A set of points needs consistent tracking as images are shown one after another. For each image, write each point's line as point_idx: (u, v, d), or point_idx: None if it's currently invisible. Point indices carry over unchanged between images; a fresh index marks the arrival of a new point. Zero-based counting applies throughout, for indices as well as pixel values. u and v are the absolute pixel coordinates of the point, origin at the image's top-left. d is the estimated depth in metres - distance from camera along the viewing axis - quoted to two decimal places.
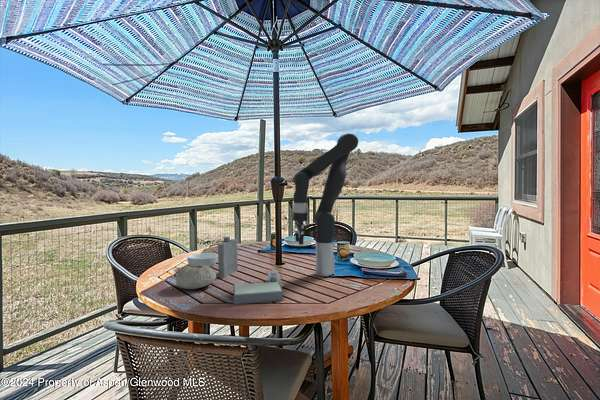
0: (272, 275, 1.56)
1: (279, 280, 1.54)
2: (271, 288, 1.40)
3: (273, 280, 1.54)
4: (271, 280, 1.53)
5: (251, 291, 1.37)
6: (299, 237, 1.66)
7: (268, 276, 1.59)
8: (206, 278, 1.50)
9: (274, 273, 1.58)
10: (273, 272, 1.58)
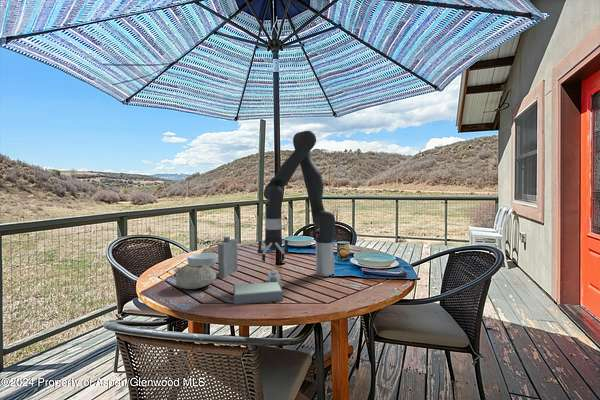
0: (272, 275, 1.56)
1: (279, 280, 1.54)
2: (271, 288, 1.40)
3: (273, 280, 1.54)
4: (271, 280, 1.53)
5: (251, 291, 1.37)
6: (283, 254, 1.58)
7: (268, 276, 1.59)
8: (206, 278, 1.50)
9: (274, 273, 1.58)
10: (273, 272, 1.58)
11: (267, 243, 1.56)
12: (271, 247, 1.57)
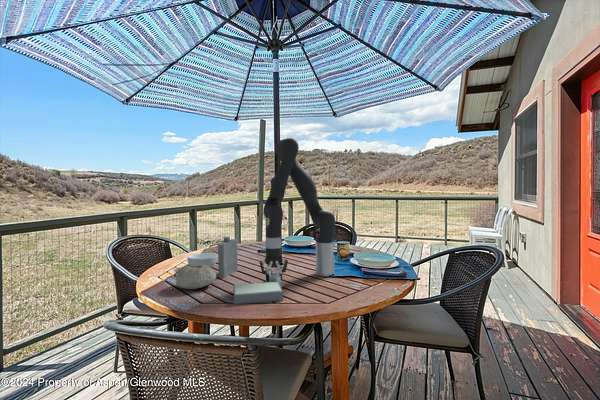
0: (272, 275, 1.56)
1: (279, 280, 1.54)
2: (271, 288, 1.40)
3: (273, 280, 1.54)
4: (271, 280, 1.53)
5: (251, 291, 1.37)
6: (280, 274, 1.59)
7: None
8: (206, 278, 1.50)
9: (274, 273, 1.58)
10: (273, 272, 1.58)
11: (268, 263, 1.57)
12: (273, 265, 1.58)
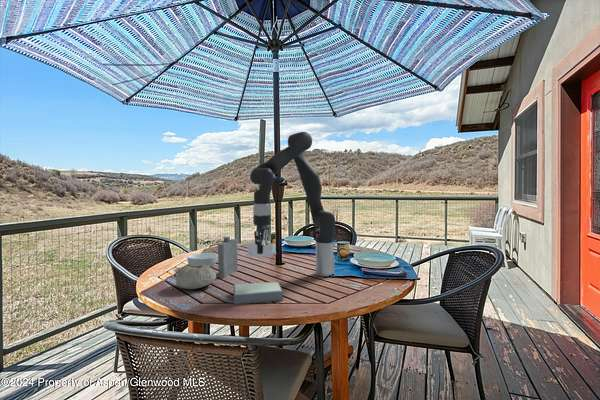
0: (267, 244, 1.44)
1: (275, 247, 1.47)
2: (271, 288, 1.40)
3: (273, 248, 1.44)
4: (272, 248, 1.43)
5: (251, 291, 1.37)
6: None
7: None
8: (206, 278, 1.50)
9: None
10: (264, 241, 1.45)
11: (262, 232, 1.42)
12: None
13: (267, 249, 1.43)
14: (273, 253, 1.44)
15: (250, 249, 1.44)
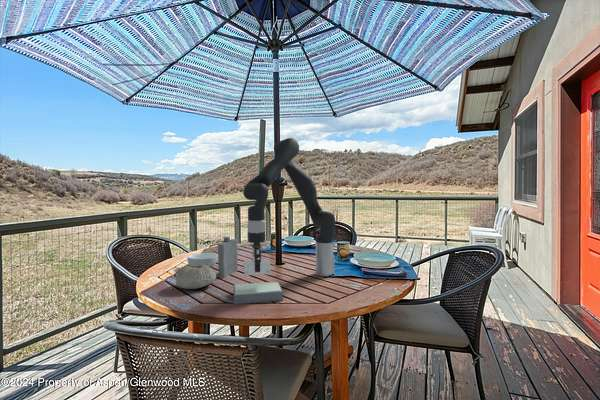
0: (263, 261, 1.41)
1: None
2: (271, 288, 1.40)
3: None
4: None
5: (251, 291, 1.37)
6: None
7: None
8: (206, 278, 1.50)
9: None
10: None
11: None
12: None
13: (265, 266, 1.39)
14: None
15: (246, 268, 1.38)
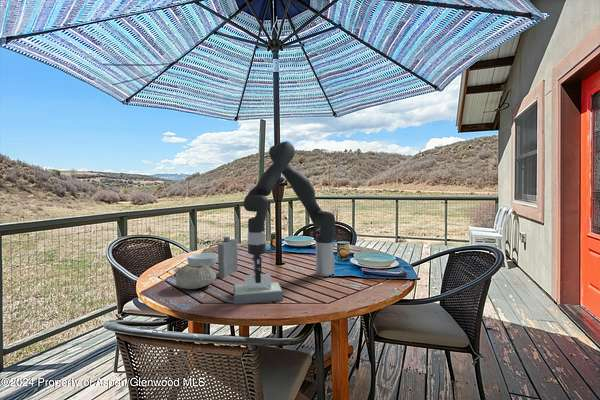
0: (264, 276, 1.41)
1: None
2: (271, 288, 1.40)
3: None
4: (270, 279, 1.41)
5: (251, 291, 1.37)
6: (258, 268, 1.46)
7: None
8: (206, 278, 1.50)
9: None
10: None
11: None
12: None
13: (265, 281, 1.40)
14: None
15: (247, 283, 1.38)
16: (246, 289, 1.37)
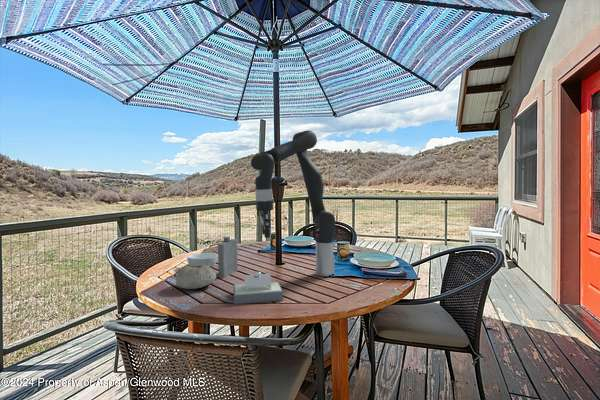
0: (264, 276, 1.41)
1: None
2: (271, 288, 1.40)
3: None
4: (270, 279, 1.41)
5: (251, 291, 1.37)
6: None
7: (255, 281, 1.39)
8: (206, 278, 1.50)
9: (260, 274, 1.42)
10: (260, 273, 1.41)
11: None
12: None
13: (265, 281, 1.40)
14: None
15: (247, 283, 1.38)
16: (246, 289, 1.37)
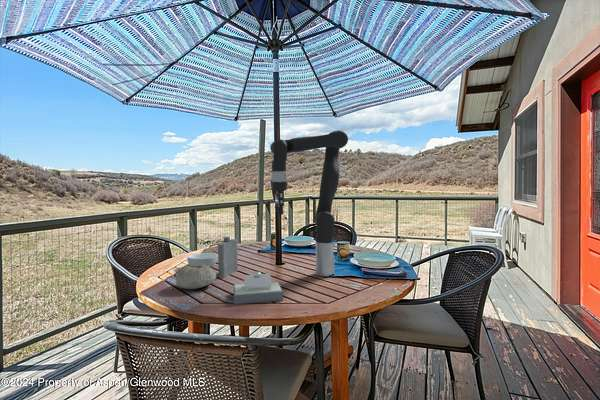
0: (264, 276, 1.41)
1: None
2: (271, 288, 1.40)
3: None
4: (270, 279, 1.41)
5: (251, 291, 1.37)
6: None
7: (255, 281, 1.39)
8: (206, 278, 1.50)
9: (260, 274, 1.42)
10: (260, 273, 1.41)
11: None
12: None
13: (265, 281, 1.40)
14: None
15: (247, 283, 1.38)
16: (246, 289, 1.37)
